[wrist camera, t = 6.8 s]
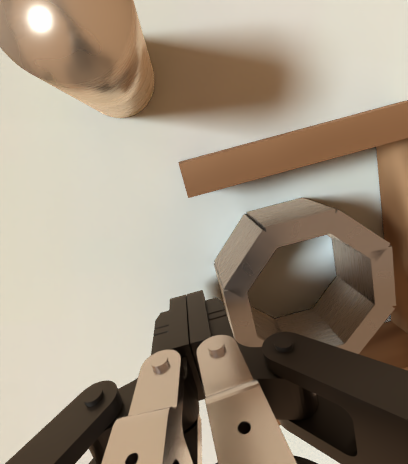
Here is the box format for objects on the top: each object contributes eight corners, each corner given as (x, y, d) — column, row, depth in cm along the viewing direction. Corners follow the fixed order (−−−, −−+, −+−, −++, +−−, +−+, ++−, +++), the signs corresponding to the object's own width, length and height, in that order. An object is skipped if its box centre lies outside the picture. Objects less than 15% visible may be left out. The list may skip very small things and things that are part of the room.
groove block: (178, 162, 13) (179, 164, 10) (398, 102, 13) (462, 87, 10) (239, 382, 16) (253, 432, 13) (413, 333, 16) (464, 371, 13)
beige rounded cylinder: (67, 47, 11) (-51, -69, 5) (141, 27, 11) (103, -108, 5) (94, 125, 12) (16, 99, 6) (163, 107, 12) (150, 64, 6)
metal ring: (203, 223, 13) (210, 242, 11) (343, 186, 14) (388, 194, 11) (234, 344, 15) (247, 388, 12) (357, 310, 16) (398, 346, 13)
